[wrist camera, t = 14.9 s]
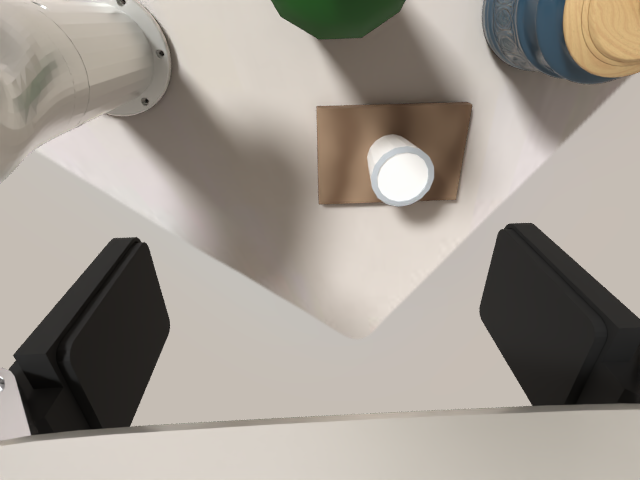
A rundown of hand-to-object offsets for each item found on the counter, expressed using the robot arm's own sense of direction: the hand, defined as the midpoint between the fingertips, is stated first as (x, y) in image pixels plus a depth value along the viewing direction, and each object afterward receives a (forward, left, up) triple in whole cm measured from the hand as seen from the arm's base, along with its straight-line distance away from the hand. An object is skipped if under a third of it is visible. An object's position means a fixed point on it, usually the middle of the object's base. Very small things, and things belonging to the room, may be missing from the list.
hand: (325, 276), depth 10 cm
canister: (+25, +7, -38) cm, 46 cm away
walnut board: (+10, -9, -38) cm, 41 cm away
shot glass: (+10, -9, -37) cm, 39 cm away
